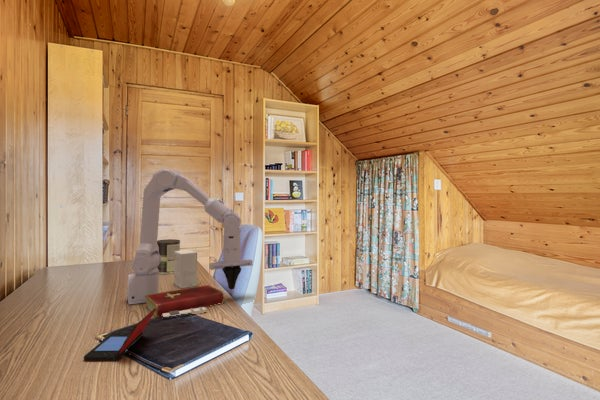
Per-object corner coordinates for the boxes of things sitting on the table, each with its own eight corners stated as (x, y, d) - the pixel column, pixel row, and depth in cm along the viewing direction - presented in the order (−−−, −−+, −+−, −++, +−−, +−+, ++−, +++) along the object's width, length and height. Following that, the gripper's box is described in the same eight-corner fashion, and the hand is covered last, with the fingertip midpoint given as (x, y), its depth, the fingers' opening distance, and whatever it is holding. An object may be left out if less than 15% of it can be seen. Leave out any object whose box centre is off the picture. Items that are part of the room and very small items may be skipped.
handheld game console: (112, 337, 80) (112, 307, 80) (157, 336, 81) (157, 306, 81) (80, 363, 68) (81, 327, 68) (134, 362, 68) (134, 327, 68)
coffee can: (154, 274, 142) (154, 242, 142) (156, 269, 152) (157, 239, 152) (179, 273, 145) (179, 241, 145) (180, 268, 155) (180, 239, 155)
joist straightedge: (163, 319, 91) (163, 315, 91) (162, 317, 93) (162, 312, 93) (206, 312, 97) (206, 308, 97) (204, 310, 99) (204, 305, 99)
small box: (197, 286, 126) (197, 252, 126) (180, 288, 122) (181, 253, 122) (189, 281, 132) (189, 249, 132) (173, 284, 128) (173, 250, 128)
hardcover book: (224, 304, 106) (224, 291, 106) (156, 319, 93) (156, 304, 93) (208, 295, 115) (208, 283, 115) (144, 307, 102) (144, 294, 102)
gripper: (214, 252, 104) (213, 294, 104) (256, 248, 112) (255, 288, 112) (208, 249, 110) (207, 289, 110) (248, 246, 118) (247, 283, 118)
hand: (231, 288), depth 112 cm, fingers closed
